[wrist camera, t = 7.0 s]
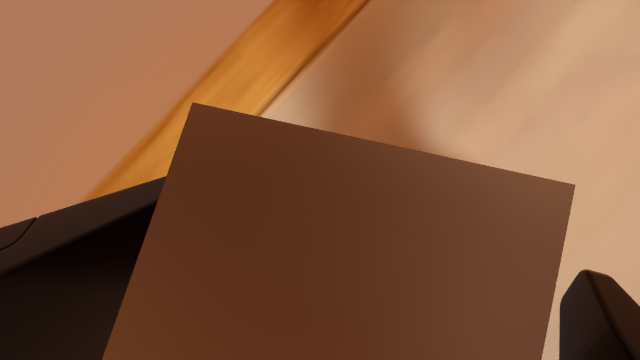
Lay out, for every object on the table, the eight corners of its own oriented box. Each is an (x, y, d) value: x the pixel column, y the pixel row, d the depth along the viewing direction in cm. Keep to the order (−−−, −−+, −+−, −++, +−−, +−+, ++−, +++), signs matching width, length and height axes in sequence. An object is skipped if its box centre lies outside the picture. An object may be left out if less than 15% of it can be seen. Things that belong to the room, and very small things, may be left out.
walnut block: (417, 342, 14) (474, 701, 3) (320, 308, 15) (65, 463, 4) (442, 240, 15) (575, 184, 3) (346, 214, 16) (192, 101, 4)
